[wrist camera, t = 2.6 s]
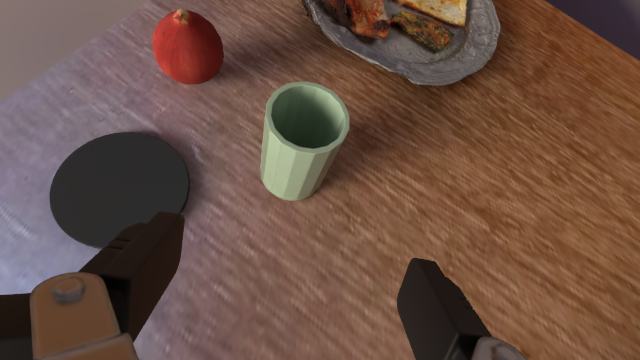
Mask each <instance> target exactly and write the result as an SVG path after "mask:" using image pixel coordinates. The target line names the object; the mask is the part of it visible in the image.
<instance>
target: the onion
mask: <svg viewBox="0 0 640 360" xmlns="http://www.w3.org/2000/svg"><path fill="white" fill-rule="evenodd" d="M152 43H153V51H154V57H155V59H156V61H157V62H158V64H159V66H160V67H161V69H162V71H163V72H164V73H165V74H167V75H168V76H170V77H171V78H172V79H174V80H175V81H177V82H180V83H184V84H199V83H203V82H206V81H208V80H210V79H211V78H212V77H214V76H215V75H216V74H217V73H218V72H219V70H220V68H221V65H222V63H223V58H224V53H223V45H222V41H221V38H220V36H219V34H218V33H217V31H216V29H215V28H214V26H213V25H212V24H211V23H210V22H209V21H208V20H206V19H205V18H204V17H202V16H201V15H200V14H198V13H195V12H192V11H188V10H185V9H182V8H180V9H178V10H177V11H174V12H172V13H170V14H168V15H167V16H165V17H164V18H163V19H162V20H161V21H160V22H159V23H158V25H157V27H156V29H155V31H154V34H153V39H152Z"/></svg>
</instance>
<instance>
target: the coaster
mask: <svg viewBox="0 0 640 360" xmlns="http://www.w3.org/2000/svg"><path fill="white" fill-rule="evenodd" d="M189 188H190V181H189V174H188V171H187V168H186V165H185V163H184V161H183V159H182V158H181V156H180V155H179V153H178V152H177V151H176V150H175V149H174V148H173V147H171V146H170V145H169V144H167V143H166V142H164V141H162V140H160V139H158V138H156V137H153V136H150V135H147V134H142V133H133V132H123V133H114V134H110V135H105V136H102V137H99V138H96V139H94V140H92V141H90V142H88V143H86V144H84V145H83V146H81V147H80V148H78V149H77V150H75V151H74V152H73V153H72V154H71V155H70V156H68V157H67V159H66V160H65V161H64V162H63V163H62V165H61V166H60V167H59V169H58V170H57V172H56V174H55V176H54V179H53V182H52V185H51V189H50V206H51V211H52V214H53V217H54V218H55V220H56V222H57V224H58V225H59V226H60V228H61V229H62V230H63V231H64V232H65V233H66V234H68V235H69V236H70V237H72V238H73V239H75V240H76V241H78V242H81V243H83V244H85V245H88V246H91V247H95V248H100V249H103V248H104V247H106V246H107V244H108V243H109V242H111V241H112V240H114V239H115V237H116V236H117V235H118V234H119V233H120V232H121V231H122V230H123V229H125V228H127V227H129V226H132V225H134V224H136V223H139V222H140V223H146V224H147V223H148V222H149V221H150V220H151V219H152V218H153V217H154V216H155V215H156V214H157V213H158V212H159V211H164V212H170V213H175V214H181V212H182V210H183V209H184V206H185V204H186V202H187V198H188V195H189Z"/></svg>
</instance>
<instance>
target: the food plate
mask: <svg viewBox="0 0 640 360" xmlns="http://www.w3.org/2000/svg"><path fill="white" fill-rule="evenodd" d="M302 2H303V4H304V7H305V8H306V10H307V11H308V13H307V14H309V11H310V12H311V18H312V21H313V23H316V24H318V25H319V26H320V27H321V29H320V30H321V33H322V34H323V35H324V36H325V37H326V38H328V39H329V40H331V41H333V42H334V43H336V42H337V43H338V44H339V45H341V46H343V48H345V49H347V50H349V51H352V52H353V53H354V54H357V55H358V56H359V57H362V58H363V59H365V60H367V61H368V62H371V63H372V64H375V63H376V64H378V65H380V66H381V67H383V68H384V69H387V70H388V71H389V72H390V71H392V72H396V73H398V74H402V75H403V76H405V77H406V78H407V77H408V78H407V79H408V80H409V81H411V82H412V83H413V84H419V85H421V84H422V85H430V86H432V85H434V86H436V85H438V86H441V85H447V84H452V83H454V82H455V81H458V80H461V79H462V78H463V77H465V76H467V75H470V74H471V73H474V72H476V71H477V72H478V70H480V69H481V68H482V67H483V66H484V65H485V64H486V62H487V61H488V60H489V59H490V58H491V56H492V54H493V53H494V50H495V48H496V45H497V40H498V36H499V33H500V32H499V31H500V28H501V24H500V22H499V20H498V17H497V15H496V9H495V5H493V2H492V0H302ZM307 16H309V15H307ZM337 43H336V44H337ZM338 44H337V45H338ZM339 45H338V46H339ZM339 47H340V46H339ZM409 78H411V79H412V80H411V79H409Z"/></svg>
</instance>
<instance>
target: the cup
mask: <svg viewBox="0 0 640 360" xmlns="http://www.w3.org/2000/svg"><path fill="white" fill-rule="evenodd" d="M349 125H350V116H349V113H348V111H347V108H346V106H345V104H344V102H343V101H342V100H341V99H340V98H339V97H338V96H337V95H336V94H335V93H334V92H333V91H332V90H330V89H328V88H326V87H324V86H322V85H320V84H317V83H312V82H306V81H300V82H293V83H288V84H286V85H284V86H283V87H281V88H279V89H277V90H276V91H275V92H274V93H273V95H272V96H271V97H270V99H269V100H268V102H267V106H266V113H265V122H264V133H263V143H262V153H261V163H260V174H261V178H262V181H263V183H264V185H265V186H266V188H267V189H268V190H269V191H270V192H271V193H272V194H274V195H275V196H277V197H279V198H282V199H285V200H292V201H295V200H302V199H305V198H307V197H309V196H311V195H312V194H314V193H315V192H316V191H317V190H318V188H319V187H320V185H321V183H322V181H323V179H324V177H325V175H326V173H327V171H328V170H329V168H330V166H331V164H332V162H333V160H334V158H335V156H336V154H337V152H338V150H339V149H340V147H341V145H342V143H343V141H344V139H345V137H346V135H347V133H348V131H349Z"/></svg>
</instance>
